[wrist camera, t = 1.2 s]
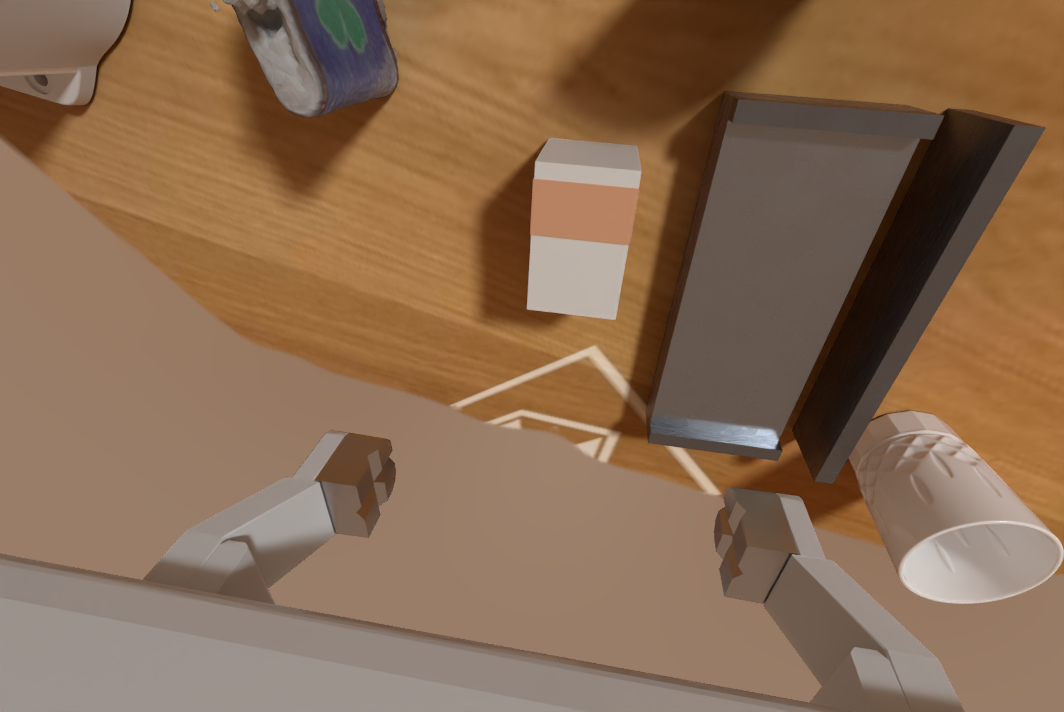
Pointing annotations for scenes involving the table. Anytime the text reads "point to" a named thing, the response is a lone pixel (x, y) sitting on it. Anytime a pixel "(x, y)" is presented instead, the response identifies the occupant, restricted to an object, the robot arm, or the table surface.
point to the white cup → (948, 514)
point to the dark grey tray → (818, 266)
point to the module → (581, 226)
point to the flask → (320, 51)
